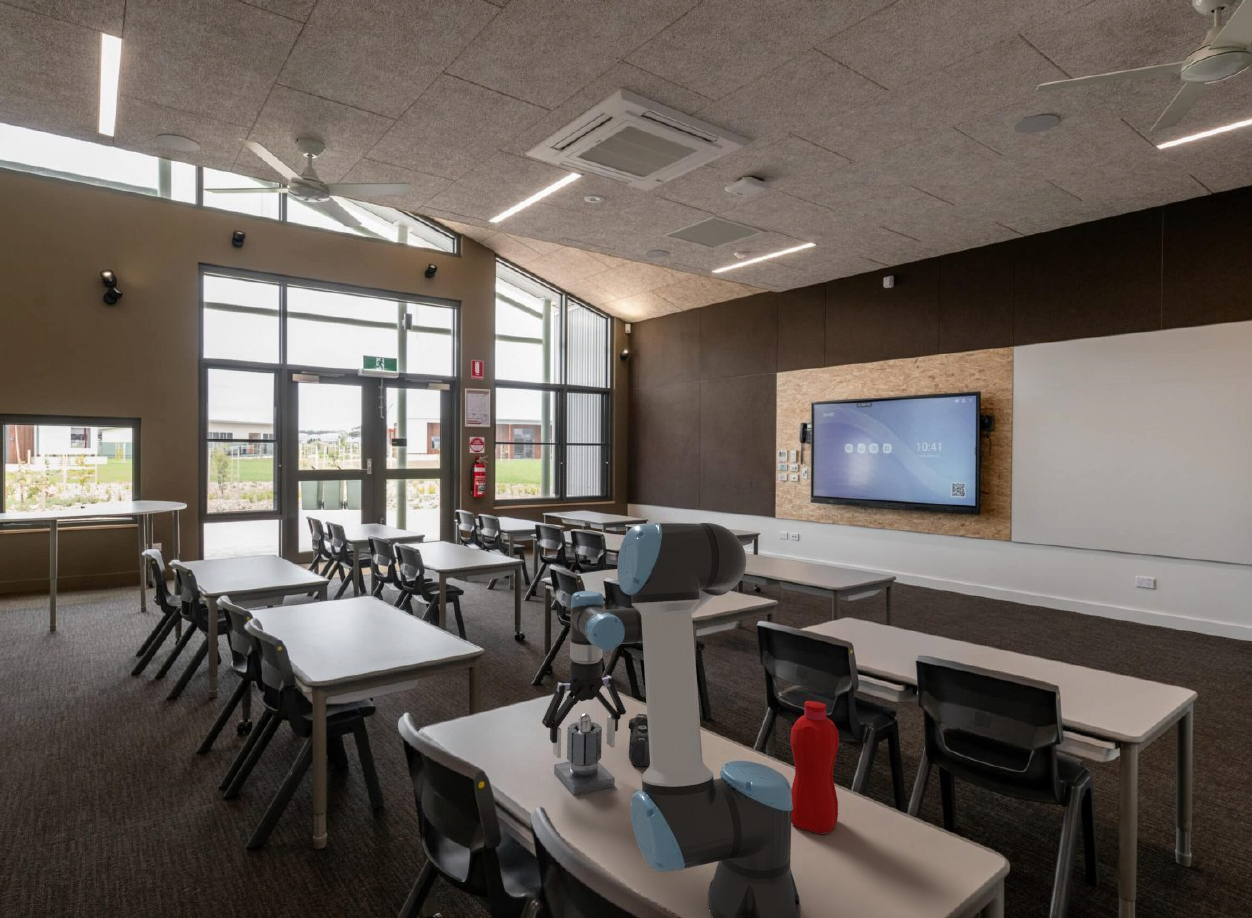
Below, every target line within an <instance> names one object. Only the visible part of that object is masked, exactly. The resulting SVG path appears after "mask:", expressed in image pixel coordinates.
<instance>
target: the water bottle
mask: <svg viewBox="0 0 1252 918" xmlns="http://www.w3.org/2000/svg"><path fill="white" fill-rule="evenodd" d="M839 736H840V735H839V730H838V729H837V727H836V724H835V722H833V720H831V719H830V718H828V717H827V704H825V703H824V702H823V703H822V702H818V701H814V700H813V701H812V700H806V701H805V702H804V714H803V715H801V716H800V717H799V718H798V719H797V720H796V721H795V722H794V724H793V725H792V727H791V732H790V740H789V742H790V747H791V751H792V757H793V761H794V776H793V777H794V778H793V781H792V785H791V794H792V805H793V809H792V815H791V825H793V826H794V827H796V828H798V829H802V830H805V831H809V832H813V833H815V834H818V835H822V834H828V833H830V832H831V831H833V830H834V827H835V826H836V824H837V823H838V817H839V800H838V796H837V791H836V790H837V789H836V787H835V780H834V777H833V776H834V766H835V761H836V758H837V753H838V750H839V746H840V745H839V744H840V737H839Z"/></svg>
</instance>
